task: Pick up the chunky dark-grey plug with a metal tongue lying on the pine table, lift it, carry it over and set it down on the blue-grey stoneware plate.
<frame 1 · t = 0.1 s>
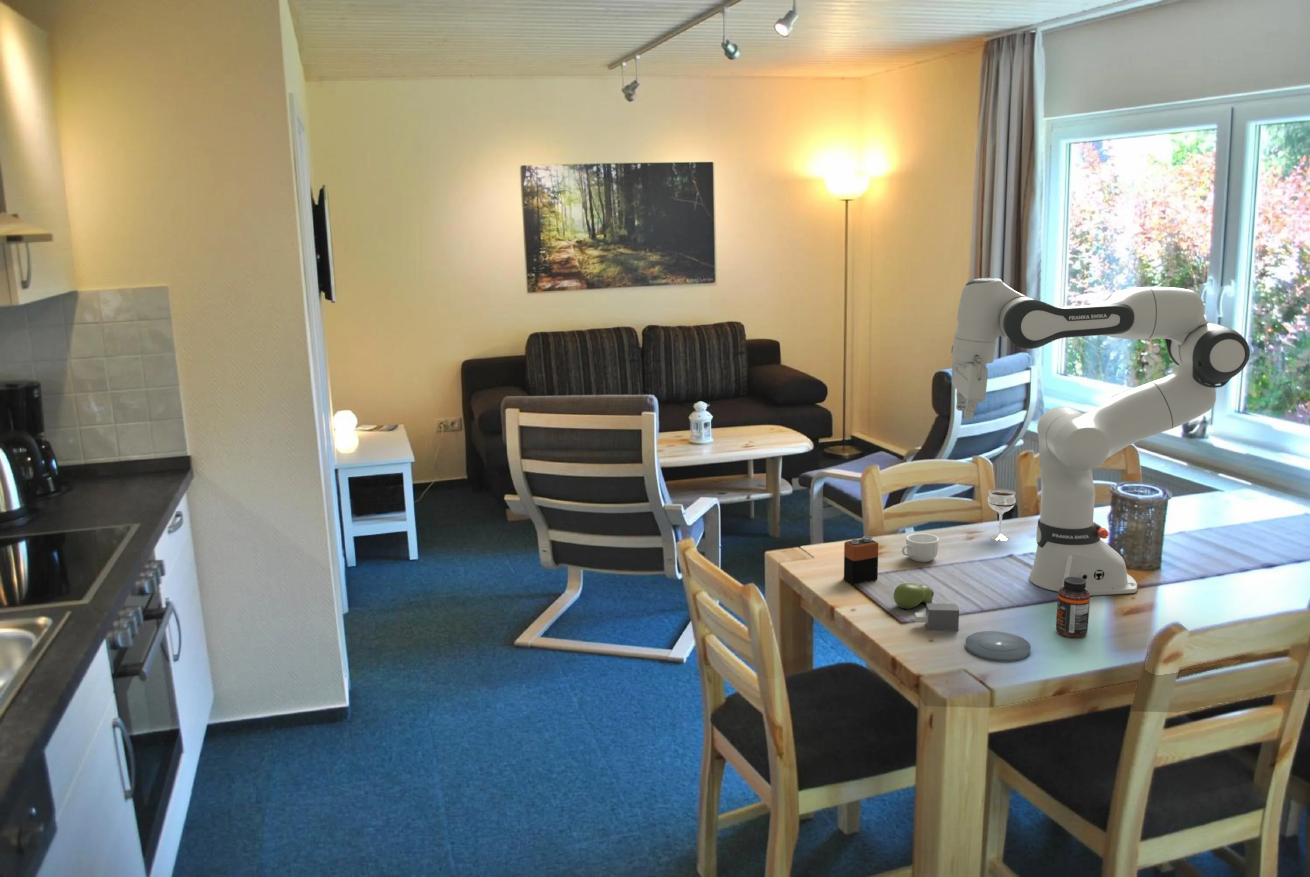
hand: (964, 414, 229), 39 cm above the table, tool pointing down, fingers open, 8 cm apart
supplement bottle: (1071, 634, 208), on the table
battery: (860, 580, 240), on the table
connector: (941, 627, 213), on the table
teacup: (918, 560, 252), on the table
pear: (914, 605, 225), on the table
wineglass: (999, 538, 267), on the table
plate: (997, 648, 202), on the table
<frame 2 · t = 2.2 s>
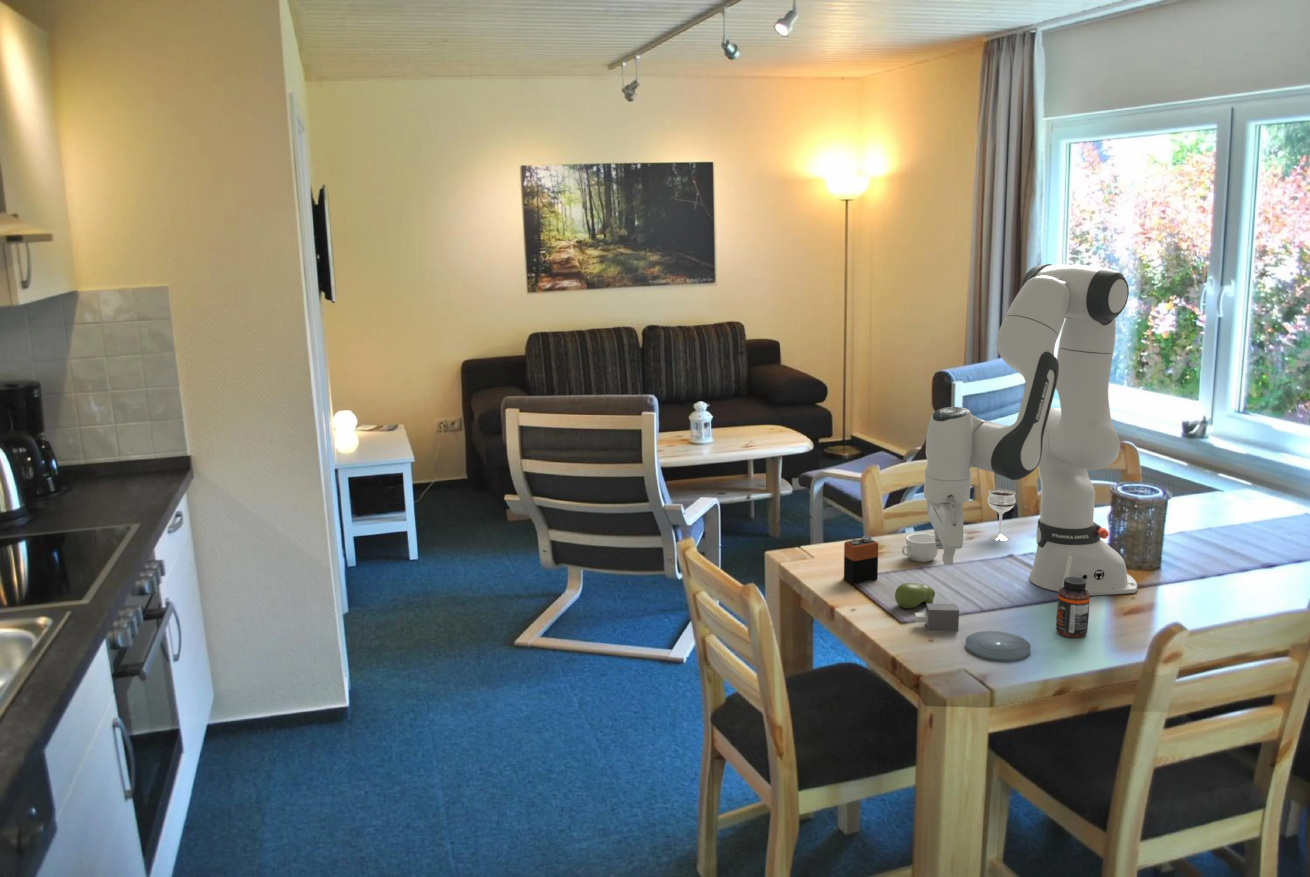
hand: (943, 555, 209), 15 cm above the table, tool pointing down, fingers open, 8 cm apart
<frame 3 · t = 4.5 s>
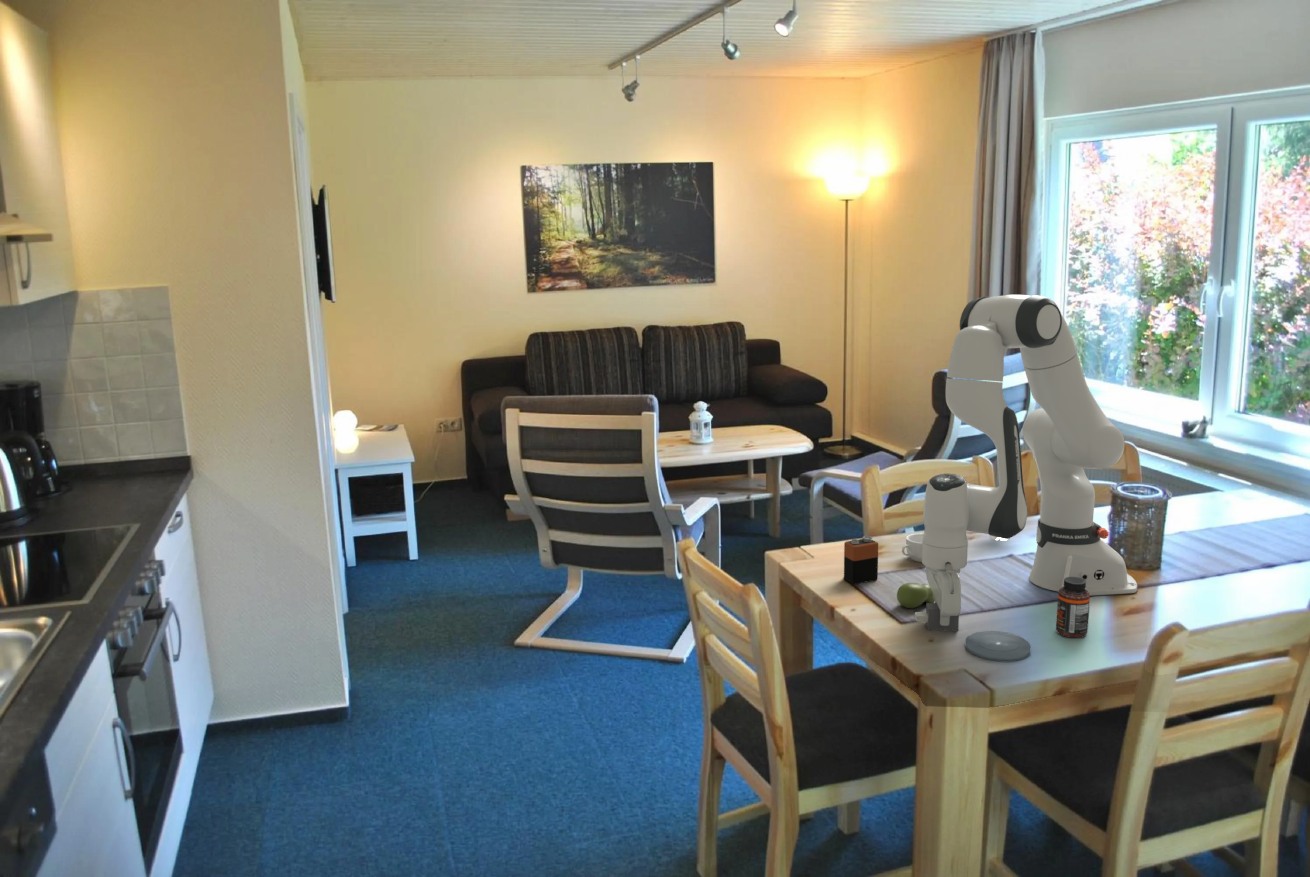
hand: (942, 619, 212), 2 cm above the table, tool pointing down, fingers closed on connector, 3 cm apart
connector: (941, 626, 213), on the table, touching gripper
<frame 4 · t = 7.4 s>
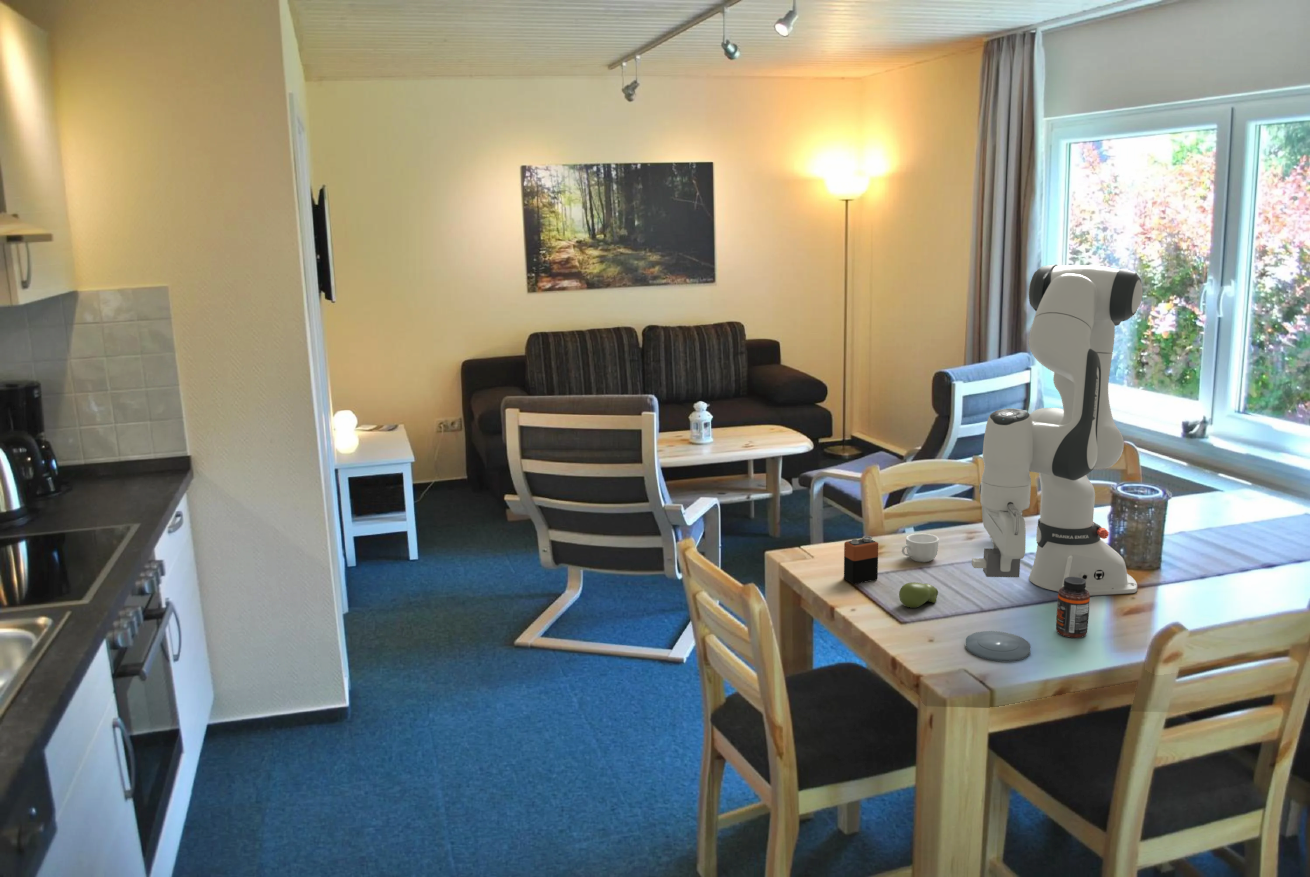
hand: (1001, 565, 198), 17 cm above the table, tool pointing down, fingers closed on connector, 3 cm apart
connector: (1000, 573, 199), point 15 cm above the table, touching gripper
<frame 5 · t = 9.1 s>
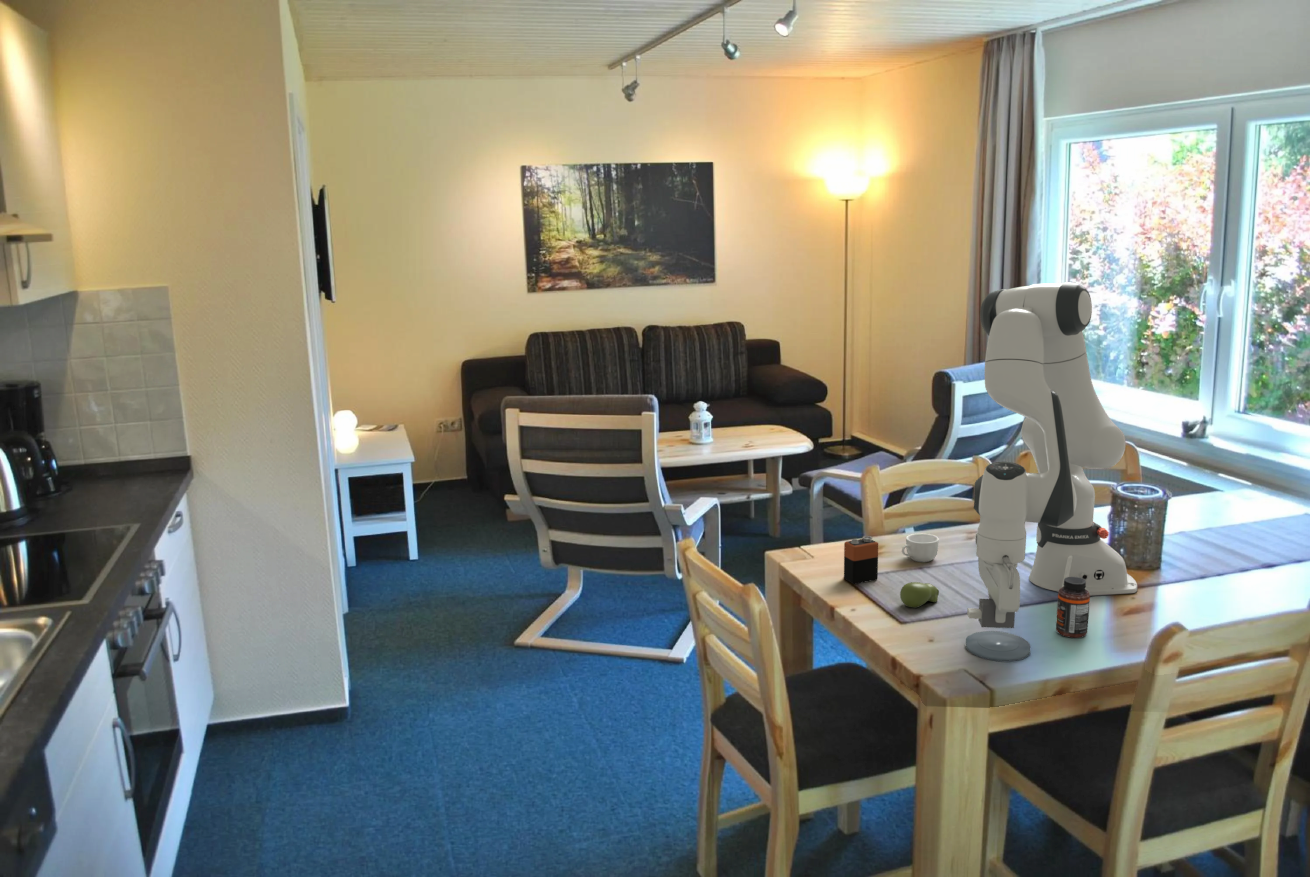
hand: (996, 616, 201), 7 cm above the table, tool pointing down, fingers closed on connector, 3 cm apart
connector: (995, 624, 201), point 5 cm above the table, touching gripper
when the fingers open (4 cm above the table, at t = 10.5 s): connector stays where it is, resting on plate.
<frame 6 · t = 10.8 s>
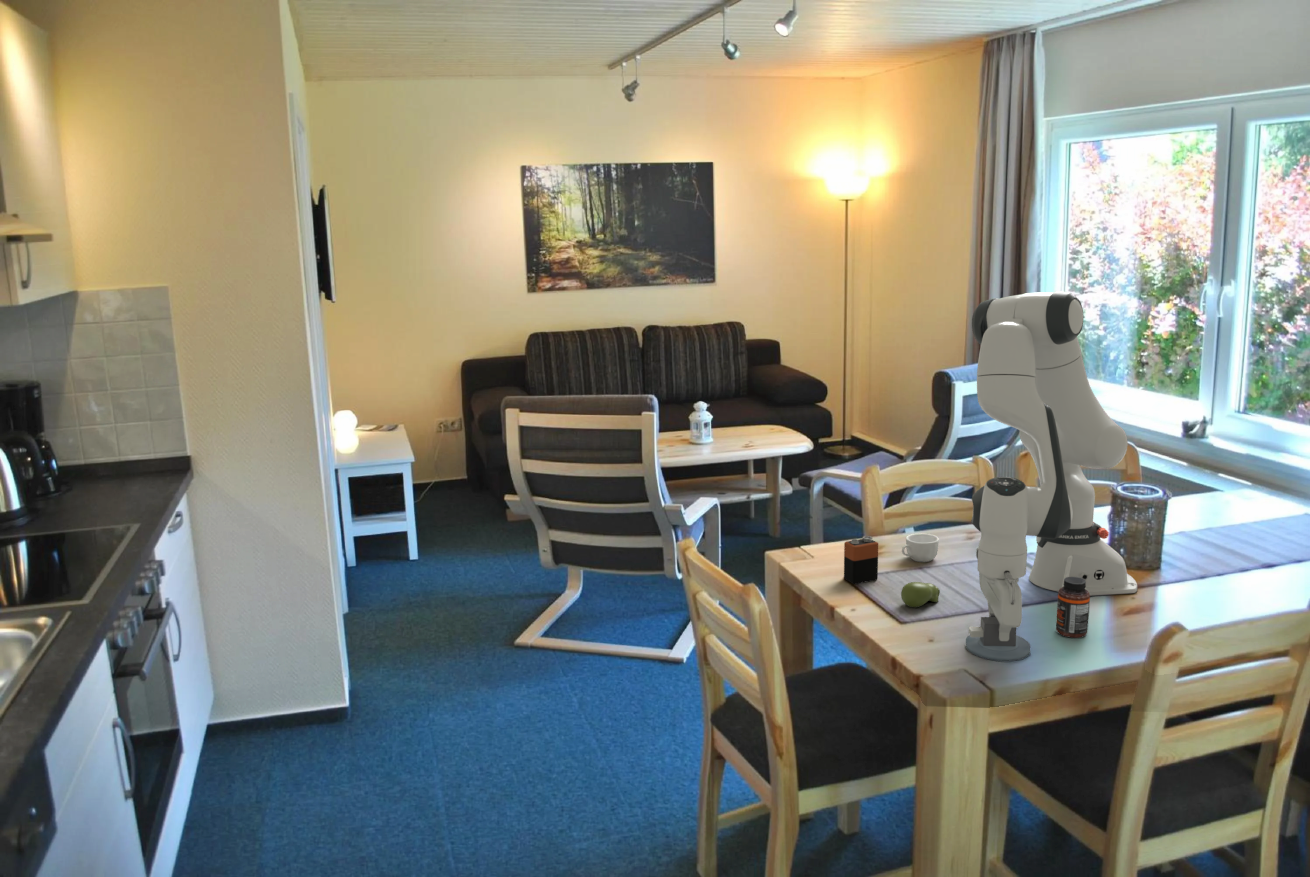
hand: (998, 630, 201), 4 cm above the table, tool pointing down, fingers open, 7 cm apart
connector: (997, 642, 202), point 1 cm above the table, touching plate
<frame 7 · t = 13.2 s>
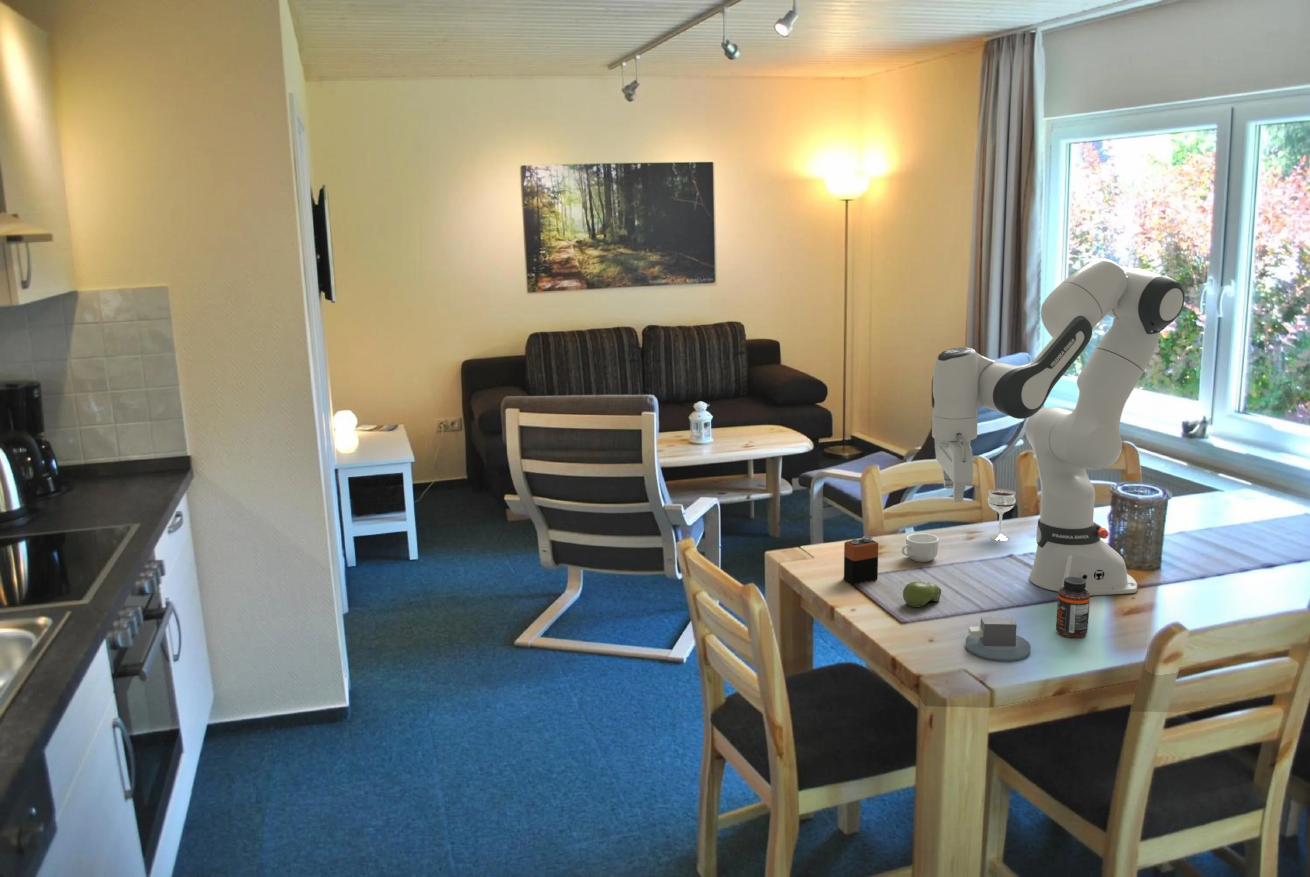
hand: (953, 494, 214), 26 cm above the table, tool pointing down, fingers open, 8 cm apart
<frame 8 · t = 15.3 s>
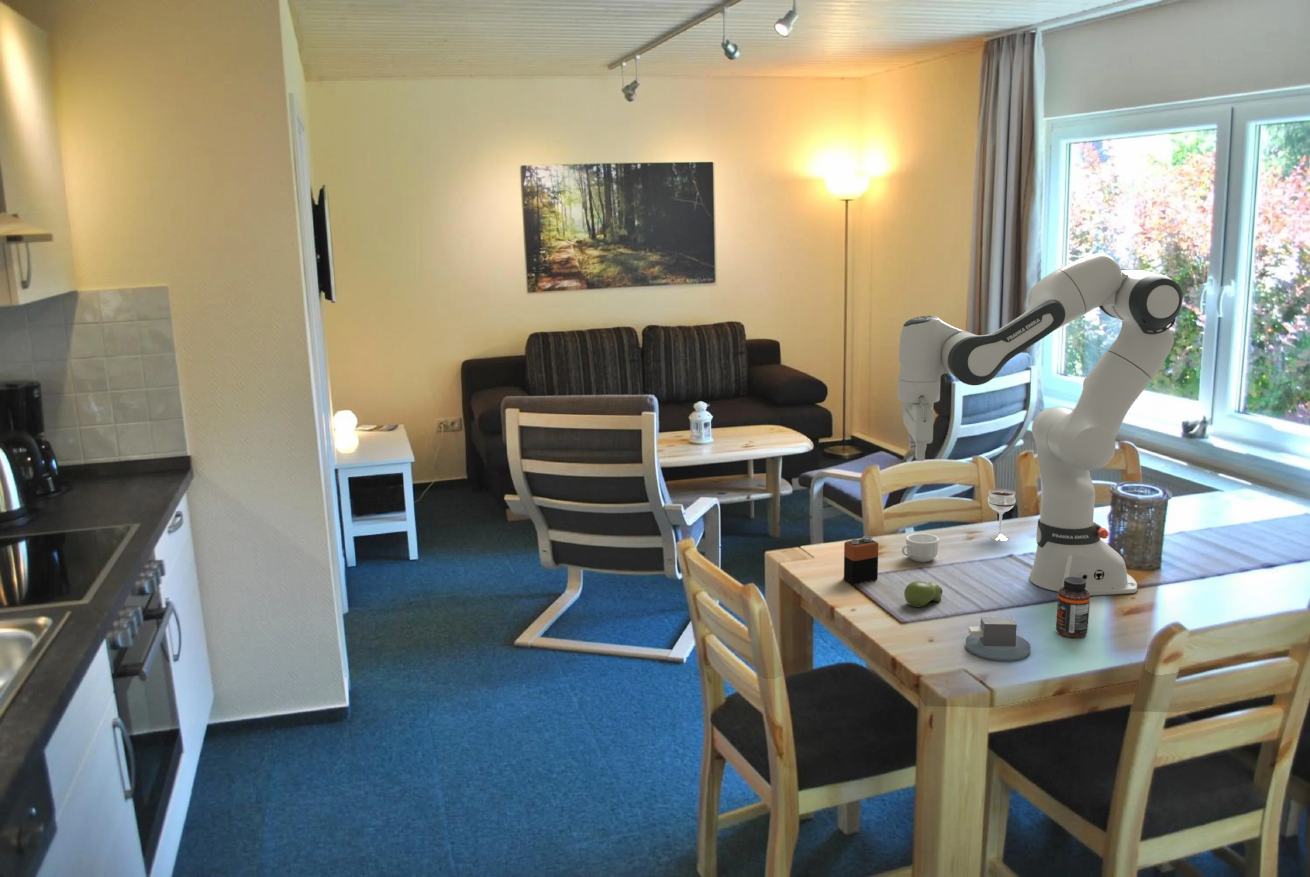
hand: (916, 454, 226), 31 cm above the table, tool pointing down, fingers open, 8 cm apart
at the end: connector 0.1 cm from the plate (horizontally); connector point 1.2 cm above the table; the gripper is holding nothing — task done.
